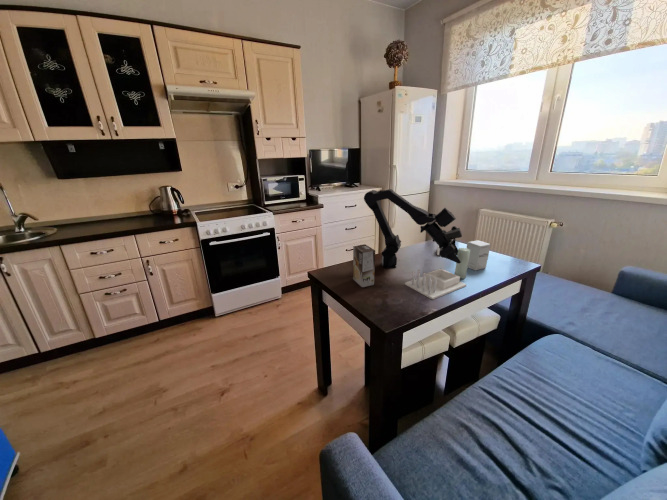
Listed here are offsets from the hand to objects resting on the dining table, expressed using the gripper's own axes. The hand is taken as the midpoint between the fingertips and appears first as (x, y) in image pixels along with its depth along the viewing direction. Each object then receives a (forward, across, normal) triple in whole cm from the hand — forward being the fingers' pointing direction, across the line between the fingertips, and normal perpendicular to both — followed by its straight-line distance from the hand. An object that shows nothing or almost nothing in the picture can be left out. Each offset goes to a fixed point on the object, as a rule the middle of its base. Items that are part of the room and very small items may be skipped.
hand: (459, 259), depth 122 cm
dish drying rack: (0, -13, +12) cm, 18 cm away
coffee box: (-21, -22, +33) cm, 45 cm away
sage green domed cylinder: (+7, 0, +5) cm, 8 cm away
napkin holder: (0, +30, +12) cm, 33 cm away
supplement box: (+12, +14, +1) cm, 18 cm away
